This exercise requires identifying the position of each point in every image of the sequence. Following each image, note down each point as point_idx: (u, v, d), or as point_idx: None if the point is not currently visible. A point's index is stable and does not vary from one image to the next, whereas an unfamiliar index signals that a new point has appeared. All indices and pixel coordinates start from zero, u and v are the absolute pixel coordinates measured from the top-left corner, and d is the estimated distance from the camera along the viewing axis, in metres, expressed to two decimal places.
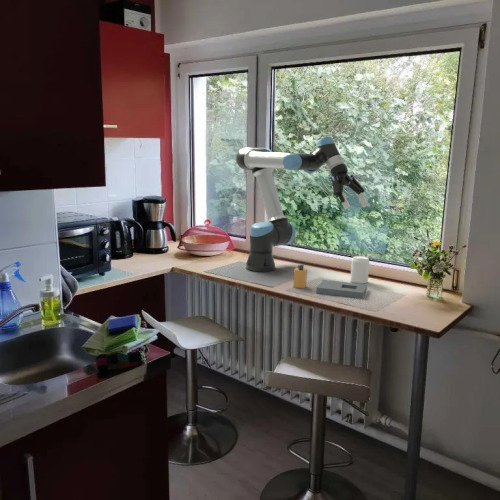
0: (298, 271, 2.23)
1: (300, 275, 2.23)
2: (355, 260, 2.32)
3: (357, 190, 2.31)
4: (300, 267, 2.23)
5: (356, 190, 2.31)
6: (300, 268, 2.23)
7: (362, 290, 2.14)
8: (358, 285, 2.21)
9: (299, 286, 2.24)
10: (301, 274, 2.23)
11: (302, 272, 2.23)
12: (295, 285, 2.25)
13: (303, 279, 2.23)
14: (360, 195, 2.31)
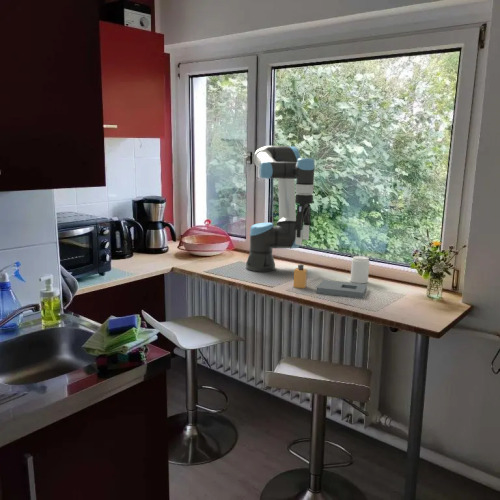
0: (298, 271, 2.23)
1: (300, 275, 2.23)
2: (355, 260, 2.32)
3: (306, 221, 2.26)
4: (300, 267, 2.23)
5: (305, 221, 2.26)
6: (300, 268, 2.23)
7: (362, 290, 2.14)
8: (358, 285, 2.21)
9: (299, 286, 2.24)
10: (301, 274, 2.23)
11: (302, 272, 2.23)
12: (295, 285, 2.25)
13: (303, 279, 2.23)
14: (306, 227, 2.27)
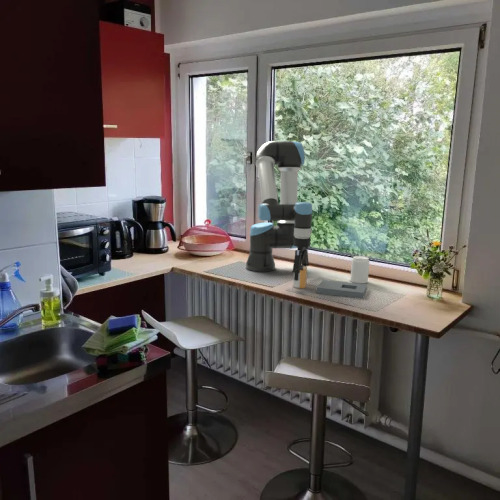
0: None
1: (300, 275, 2.23)
2: (355, 260, 2.32)
3: (304, 262, 2.30)
4: None
5: (303, 262, 2.30)
6: (300, 268, 2.23)
7: (362, 290, 2.14)
8: (358, 285, 2.21)
9: None
10: (301, 274, 2.23)
11: (302, 272, 2.23)
12: None
13: (303, 279, 2.23)
14: (304, 268, 2.31)
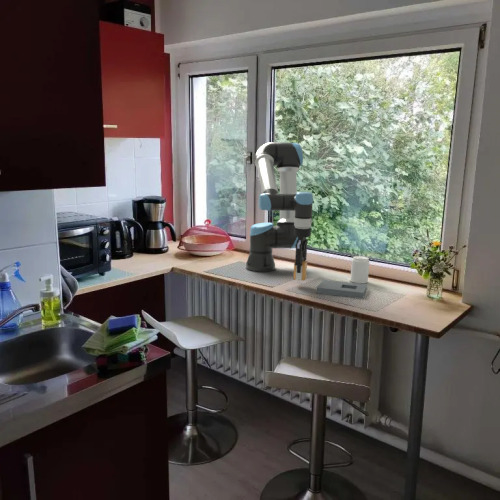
0: None
1: None
2: (355, 260, 2.32)
3: (302, 257, 2.26)
4: None
5: None
6: None
7: (362, 290, 2.14)
8: (358, 285, 2.21)
9: None
10: None
11: (302, 264, 2.22)
12: (295, 277, 2.25)
13: (303, 271, 2.23)
14: None
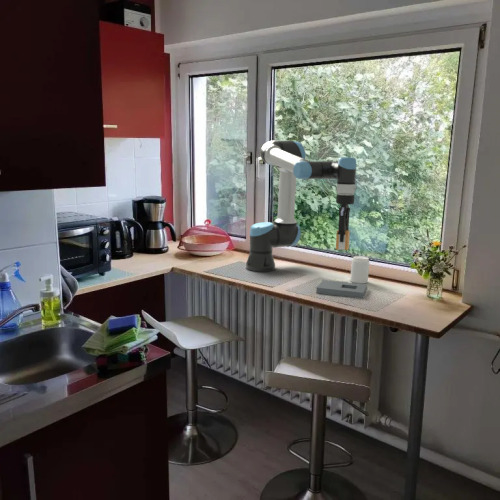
0: None
1: None
2: (355, 260, 2.32)
3: (345, 227, 2.16)
4: None
5: None
6: None
7: (362, 290, 2.14)
8: (358, 285, 2.21)
9: None
10: None
11: (345, 233, 2.13)
12: None
13: (346, 240, 2.13)
14: None
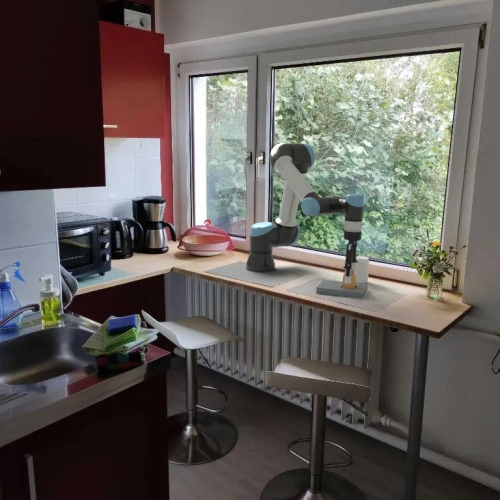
0: None
1: None
2: None
3: (353, 258, 2.21)
4: None
5: (352, 258, 2.21)
6: None
7: (362, 290, 2.14)
8: (358, 285, 2.21)
9: None
10: (351, 280, 2.16)
11: (352, 277, 2.16)
12: None
13: (352, 285, 2.16)
14: (352, 264, 2.22)
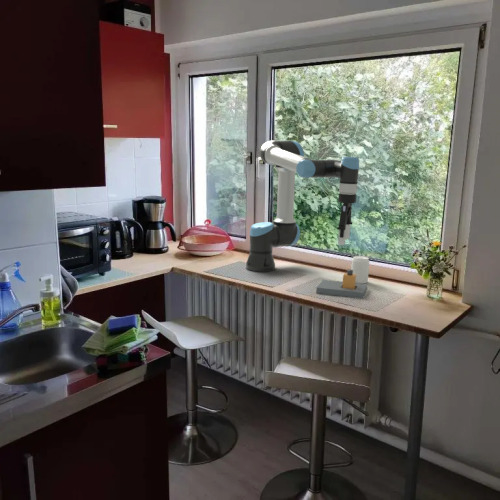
0: (347, 276, 2.16)
1: (350, 280, 2.16)
2: (355, 260, 2.32)
3: (348, 221, 2.23)
4: (349, 272, 2.16)
5: (347, 220, 2.23)
6: (349, 273, 2.16)
7: (362, 290, 2.14)
8: (358, 285, 2.21)
9: None
10: (351, 280, 2.16)
11: (352, 277, 2.16)
12: None
13: (352, 285, 2.16)
14: (347, 226, 2.24)
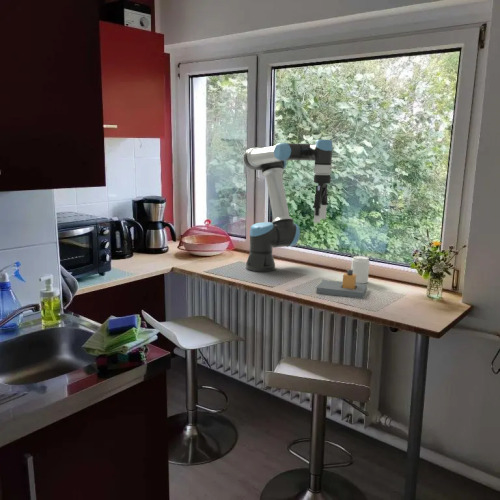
0: (347, 276, 2.16)
1: (350, 280, 2.16)
2: (355, 260, 2.32)
3: (324, 201, 2.35)
4: (349, 272, 2.16)
5: (323, 201, 2.35)
6: (349, 273, 2.16)
7: (362, 290, 2.14)
8: (358, 285, 2.21)
9: None
10: (351, 280, 2.16)
11: (352, 277, 2.16)
12: None
13: (352, 285, 2.16)
14: (323, 207, 2.36)
